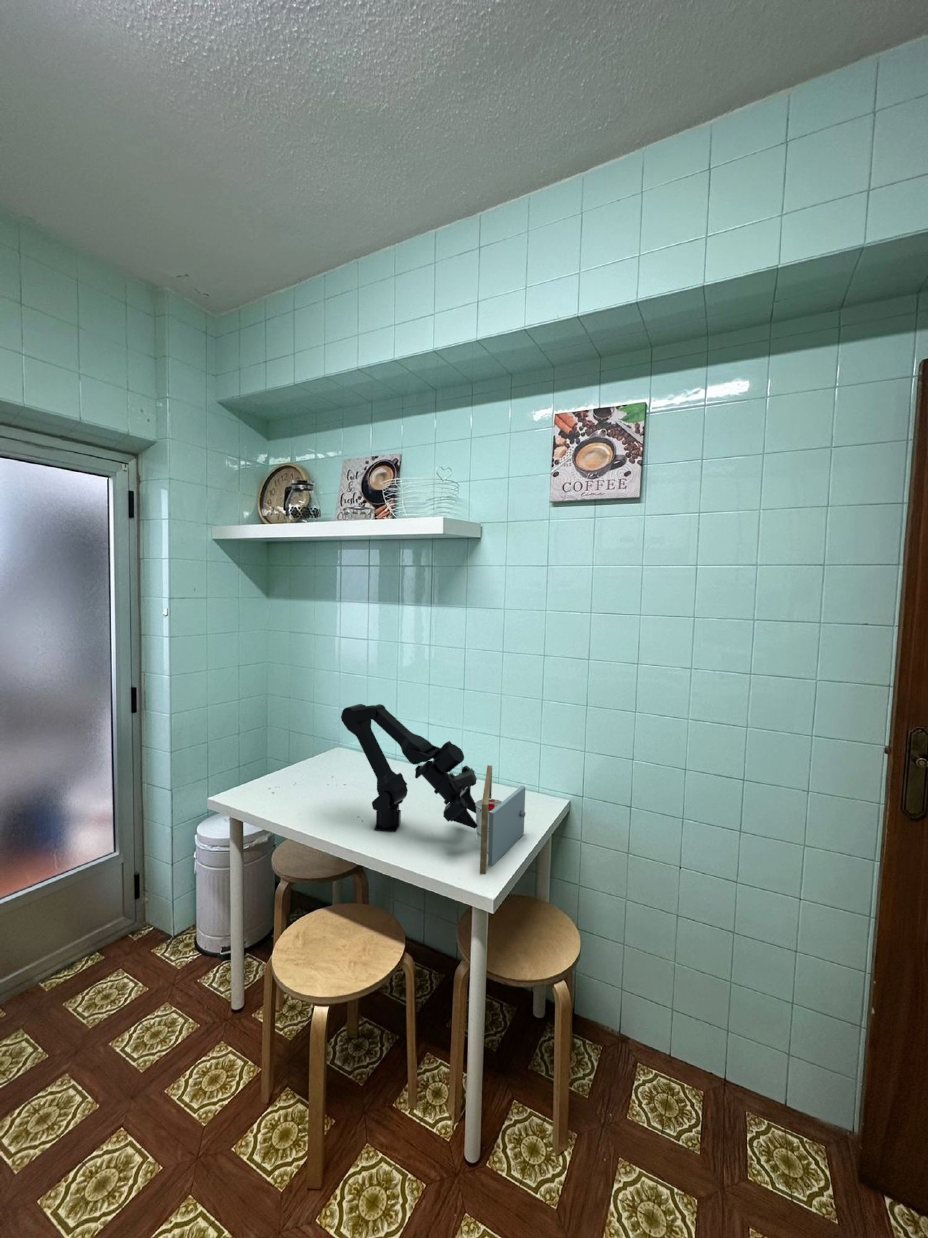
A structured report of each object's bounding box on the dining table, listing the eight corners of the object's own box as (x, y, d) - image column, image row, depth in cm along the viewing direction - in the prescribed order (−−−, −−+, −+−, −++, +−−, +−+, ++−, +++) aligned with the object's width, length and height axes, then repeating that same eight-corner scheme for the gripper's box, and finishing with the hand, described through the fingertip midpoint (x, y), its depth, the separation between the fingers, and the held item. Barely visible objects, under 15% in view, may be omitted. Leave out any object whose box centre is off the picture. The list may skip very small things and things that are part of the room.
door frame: (479, 874, 128) (481, 804, 127) (485, 822, 157) (487, 765, 156) (485, 874, 128) (487, 804, 127) (490, 822, 157) (492, 765, 156)
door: (487, 864, 132) (489, 812, 131) (520, 832, 151) (521, 785, 150) (496, 867, 131) (497, 814, 130) (527, 834, 150) (529, 787, 149)
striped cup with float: (480, 836, 148) (481, 795, 148) (508, 841, 145) (509, 800, 145) (469, 852, 139) (469, 809, 138) (498, 858, 136) (499, 814, 135)
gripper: (456, 772, 134) (497, 816, 134) (463, 750, 153) (499, 789, 152) (426, 799, 135) (466, 843, 135) (436, 774, 154) (472, 812, 154)
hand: (477, 820), depth 144 cm, fingers open, 9 cm apart
